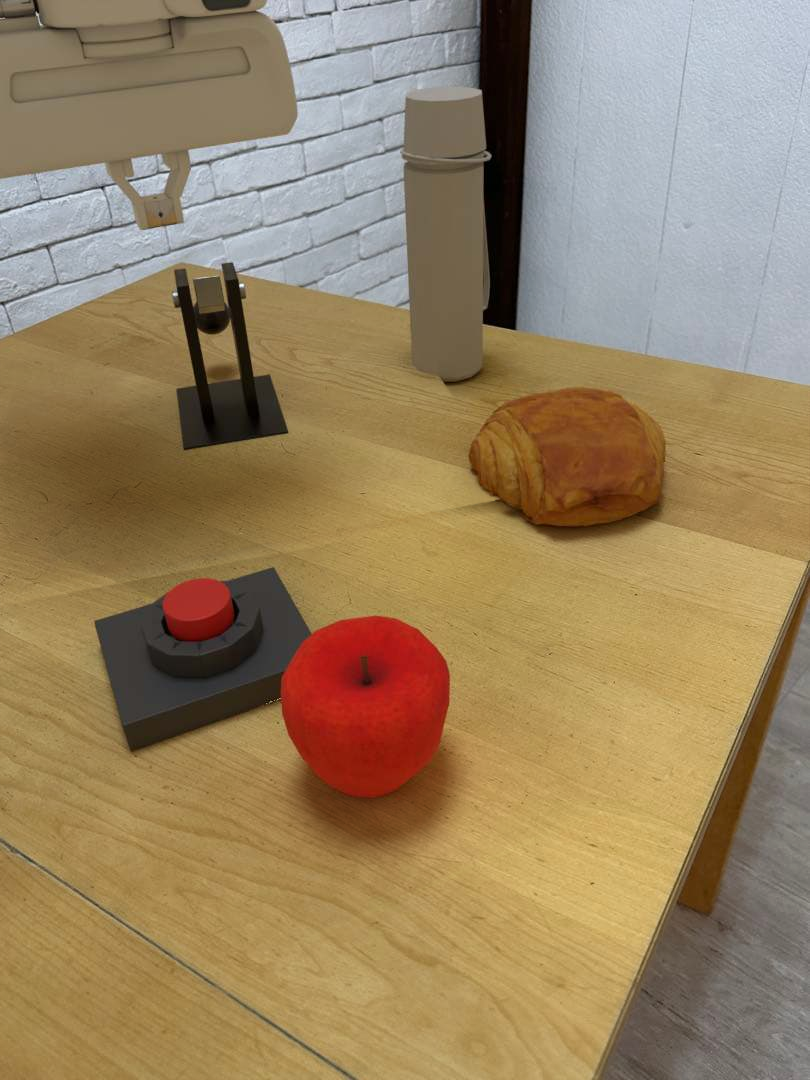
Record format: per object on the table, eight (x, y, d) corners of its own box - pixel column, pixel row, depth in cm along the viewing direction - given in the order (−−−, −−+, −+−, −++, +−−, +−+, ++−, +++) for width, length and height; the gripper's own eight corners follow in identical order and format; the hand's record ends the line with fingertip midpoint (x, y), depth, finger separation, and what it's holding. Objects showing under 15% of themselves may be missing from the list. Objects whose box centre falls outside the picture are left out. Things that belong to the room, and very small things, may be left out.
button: (176, 651, 53) (170, 628, 52) (161, 611, 56) (155, 589, 55) (242, 630, 54) (238, 607, 53) (224, 592, 57) (220, 570, 56)
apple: (473, 813, 47) (472, 707, 42) (304, 849, 46) (284, 743, 41) (432, 692, 54) (428, 590, 49) (285, 720, 53) (267, 618, 48)
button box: (130, 752, 51) (114, 702, 49) (102, 646, 59) (86, 598, 56) (329, 683, 55) (322, 634, 53) (277, 591, 62) (270, 544, 60)
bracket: (178, 400, 87) (148, 258, 79) (271, 386, 89) (251, 245, 81) (186, 461, 78) (152, 306, 70) (290, 443, 79) (268, 291, 71)
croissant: (466, 469, 78) (452, 386, 74) (644, 431, 78) (640, 345, 73) (494, 565, 66) (479, 473, 62) (704, 522, 66) (703, 425, 61)
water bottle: (448, 394, 86) (442, 106, 71) (394, 369, 90) (378, 95, 76) (515, 364, 90) (522, 87, 76) (460, 342, 95) (457, 79, 81)
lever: (196, 339, 88) (189, 302, 87) (233, 334, 88) (226, 297, 88) (191, 316, 75) (182, 272, 74) (234, 310, 75) (226, 266, 75)
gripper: (-80, 6, 47) (3, 268, 55) (290, -29, 54) (316, 210, 62) (-82, -1, 52) (-6, 240, 60) (258, -33, 58) (286, 189, 66)
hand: (160, 225), depth 61 cm, fingers closed
